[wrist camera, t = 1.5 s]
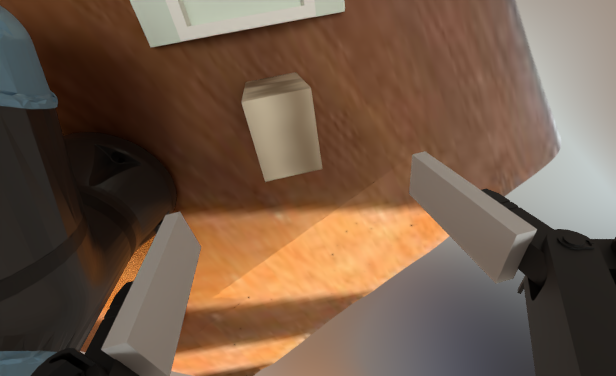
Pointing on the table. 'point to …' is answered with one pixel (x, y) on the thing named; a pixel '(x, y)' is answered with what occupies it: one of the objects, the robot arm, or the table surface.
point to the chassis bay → (221, 16)
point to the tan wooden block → (282, 125)
